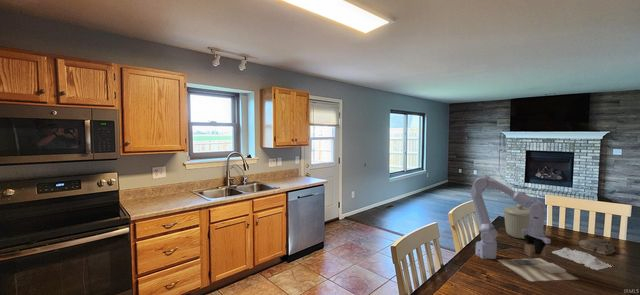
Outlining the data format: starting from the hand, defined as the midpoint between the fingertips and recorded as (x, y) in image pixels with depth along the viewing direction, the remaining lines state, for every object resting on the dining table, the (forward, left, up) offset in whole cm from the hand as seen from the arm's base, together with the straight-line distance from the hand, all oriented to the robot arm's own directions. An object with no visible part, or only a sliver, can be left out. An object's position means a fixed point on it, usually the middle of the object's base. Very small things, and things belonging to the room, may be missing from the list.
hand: (534, 252), depth 137 cm
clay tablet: (+58, +21, -9) cm, 63 cm away
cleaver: (+48, +48, -9) cm, 69 cm away
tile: (+2, -3, -7) cm, 8 cm away
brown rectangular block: (0, 0, -1) cm, 1 cm away
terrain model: (+34, +9, -10) cm, 37 cm away
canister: (+26, +42, -9) cm, 51 cm away
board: (-1, -1, -9) cm, 9 cm away
